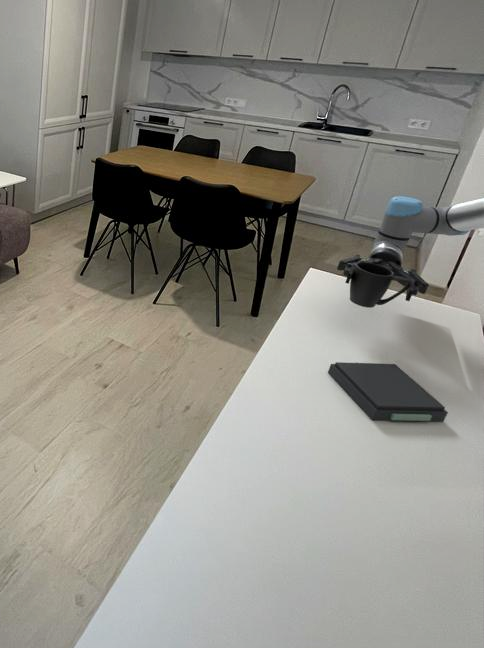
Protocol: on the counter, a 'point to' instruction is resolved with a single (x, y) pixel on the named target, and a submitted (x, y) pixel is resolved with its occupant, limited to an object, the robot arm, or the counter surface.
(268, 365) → the counter surface
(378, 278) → the mug
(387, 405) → the scale
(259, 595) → the counter surface
